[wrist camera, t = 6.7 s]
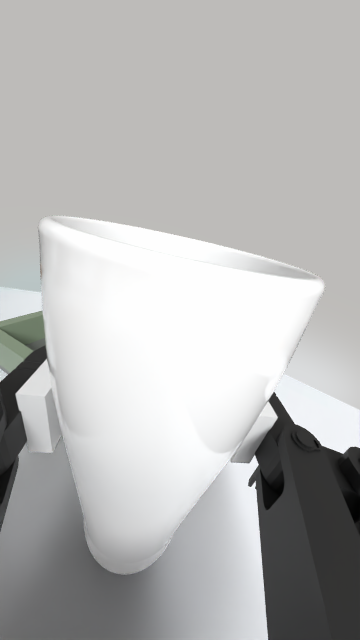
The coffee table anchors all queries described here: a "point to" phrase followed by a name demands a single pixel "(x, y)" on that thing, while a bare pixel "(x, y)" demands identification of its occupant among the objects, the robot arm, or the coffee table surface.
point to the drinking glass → (158, 369)
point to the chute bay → (20, 339)
